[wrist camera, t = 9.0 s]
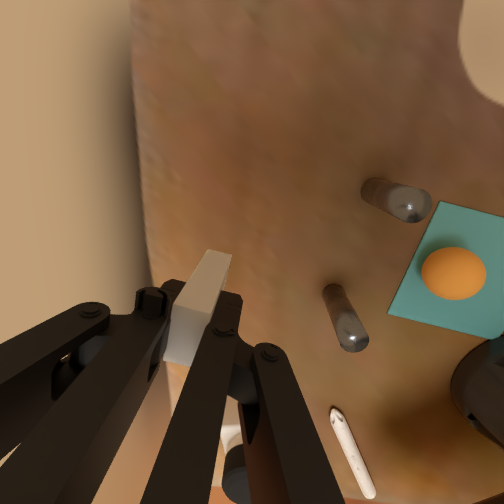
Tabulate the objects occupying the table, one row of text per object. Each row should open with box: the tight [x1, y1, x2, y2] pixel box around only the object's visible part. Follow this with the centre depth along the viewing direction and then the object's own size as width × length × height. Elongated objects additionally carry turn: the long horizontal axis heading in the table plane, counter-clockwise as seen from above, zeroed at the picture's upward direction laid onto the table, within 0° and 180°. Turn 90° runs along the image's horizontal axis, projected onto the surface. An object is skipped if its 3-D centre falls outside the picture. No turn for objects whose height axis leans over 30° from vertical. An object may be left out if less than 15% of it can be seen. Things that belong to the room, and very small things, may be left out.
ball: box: [421, 247, 486, 300], centre depth 30 cm, size 6×6×6 cm
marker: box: [330, 409, 376, 499], centre depth 42 cm, size 18×2×2 cm, turn 23°
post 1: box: [322, 284, 369, 353], centre depth 30 cm, size 3×3×9 cm
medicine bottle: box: [220, 395, 251, 504], centre depth 35 cm, size 7×7×12 cm
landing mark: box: [387, 201, 504, 340], centre depth 32 cm, size 14×14×1 cm
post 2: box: [361, 178, 432, 223], centre depth 26 cm, size 3×3×9 cm
